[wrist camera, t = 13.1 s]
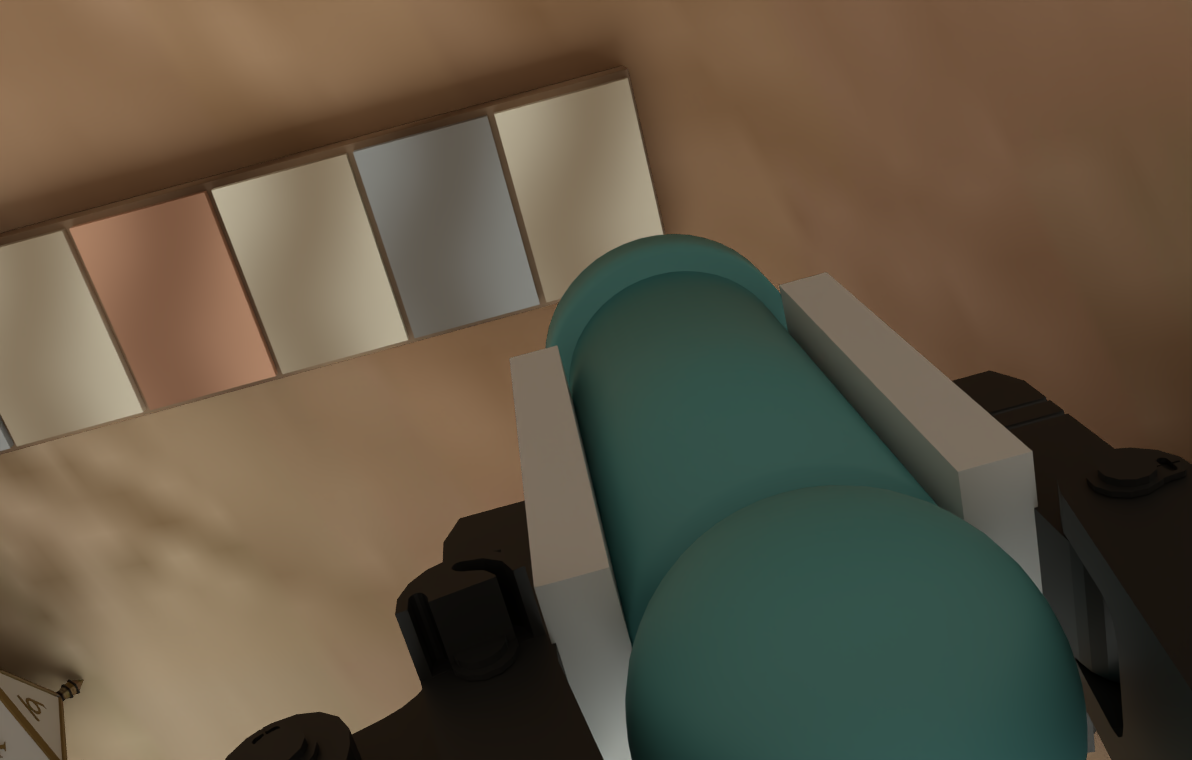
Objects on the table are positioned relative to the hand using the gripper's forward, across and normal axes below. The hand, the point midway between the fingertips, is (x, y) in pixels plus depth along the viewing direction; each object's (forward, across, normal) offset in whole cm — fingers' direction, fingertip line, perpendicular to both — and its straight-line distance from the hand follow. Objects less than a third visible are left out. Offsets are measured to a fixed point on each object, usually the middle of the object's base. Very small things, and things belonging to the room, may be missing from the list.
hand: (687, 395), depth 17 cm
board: (+16, +10, 0) cm, 19 cm away
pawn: (+2, 0, 0) cm, 2 cm away
